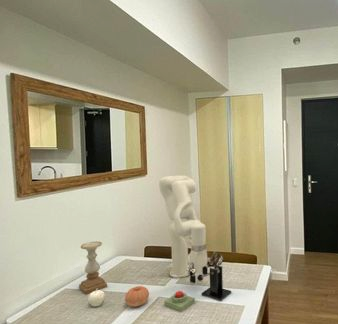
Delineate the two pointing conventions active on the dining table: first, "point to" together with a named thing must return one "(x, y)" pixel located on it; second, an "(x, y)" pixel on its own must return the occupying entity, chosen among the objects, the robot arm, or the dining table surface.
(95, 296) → the plain white apple
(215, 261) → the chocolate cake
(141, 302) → the orange pumpkin
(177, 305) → the control block
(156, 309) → the dining table surface
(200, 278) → the lever
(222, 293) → the bracket
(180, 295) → the button
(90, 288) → the candle holder
